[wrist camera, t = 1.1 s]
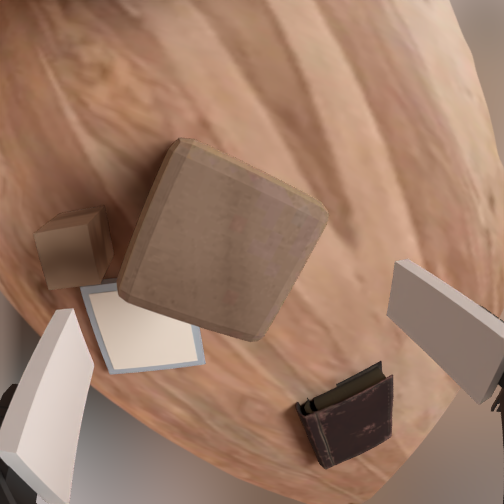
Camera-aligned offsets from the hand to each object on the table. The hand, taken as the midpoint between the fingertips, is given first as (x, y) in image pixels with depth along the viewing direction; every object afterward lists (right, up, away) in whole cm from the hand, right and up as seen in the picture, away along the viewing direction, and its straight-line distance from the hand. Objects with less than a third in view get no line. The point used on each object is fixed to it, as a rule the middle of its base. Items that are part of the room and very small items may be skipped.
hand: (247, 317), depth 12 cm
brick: (-19, +5, +22) cm, 30 cm away
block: (-6, +9, +24) cm, 26 cm away
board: (-14, -7, +28) cm, 32 cm away
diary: (+20, -31, +46) cm, 59 cm away
